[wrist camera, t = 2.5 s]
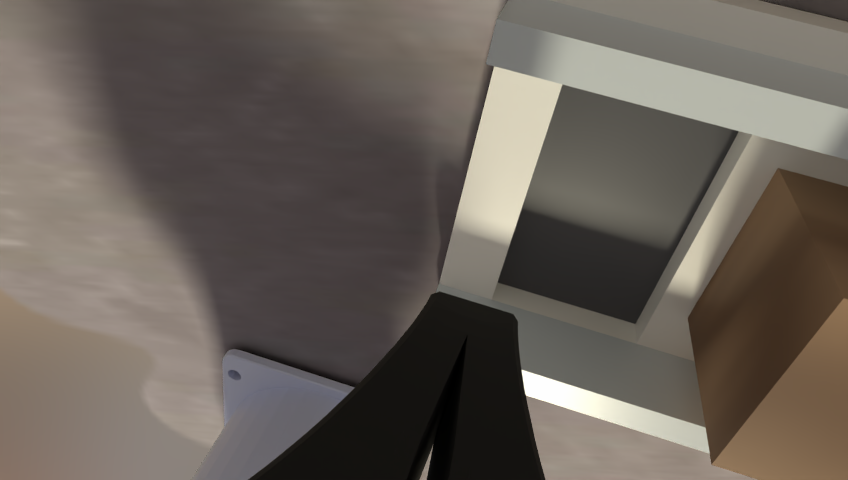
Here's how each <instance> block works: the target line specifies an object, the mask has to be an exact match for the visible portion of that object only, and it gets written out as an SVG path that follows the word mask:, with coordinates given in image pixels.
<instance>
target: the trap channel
mask: <svg viewBox="0 0 848 480" xmlns="http://www.w3.org/2000/svg"><path fill="white" fill-rule="evenodd" d="M486 64H487V65H491V66H494V69H493V73H492V77H491V81H490V85H489V89H488V93H487V97H486V101H485V104H484V108H483V112H482V116H481V120H480V124H479V128H478V132H477V136H476V140H475V144H474V148H473V152H472V156H471V160H470V164H469V168H468V172H467V176H466V179H465V183H464V187H463V191H462V195H461V199H460V203H459V207H458V211H457V215H456V219H455V223H454V227H453V231H452V235H451V239H450V243H449V247H448V250H447V254H446V258H445V262H444V266H443V270H442V274H441V278H440V282H439V285H438V288H437V291H436V293H437V292H439V291H440V292H443V293H447V294H450V295H453V296H457V297H460V298H463V299H466V300H470V301H473V302H476V303H479V304H483V305H486V306H489V307H492V308H496V309H499V310H502V311H506V312H509V313H512V314H514V316H515V317H516V319H517V321H518V342H519V353H520V362H521V369H522V376H523V383H524V389H525V394H526V395H527V396H530V397H533V398H536V399H540V400H543V401H546V402H549V403H552V404H555V405H558V406H562V407H565V408H568V409H571V410H574V411H577V412H580V413H584V414H587V415H590V416H593V417H596V418H599V419H602V420H606V421H609V422H612V423H615V424H618V425H621V426H624V427H627V428H631V429H634V430H637V431H640V432H643V433H646V434H649V435H653V436H656V437H659V438H662V439H665V440H668V441H671V442H675V443H678V444H681V445H684V446H687V447H690V448H693V449H697V450H700V451H703V452H706V453H709V454H710V452H709V446H708V440H707V434H706V427H705V421H704V415H703V409H702V403H701V397H700V391H699V385H698V379H697V372H696V366H695V360H694V354H693V348H692V342H691V336H690V330H689V324H688V316H689V315H690V313H691V311H692V310H693V308H694V306H695V305H696V303H697V301H698V300H699V298H700V296H701V295H702V293H703V291H704V290H705V288H706V286H707V285H708V283H709V281H710V280H711V278H712V277H713V275H714V273H715V272H716V270H717V268H718V267H719V265H720V263H721V262H722V260H723V258H724V257H725V255H726V253H727V252H728V250H729V248H730V247H731V245H732V243H733V242H734V240H735V238H736V237H737V235H738V233H739V232H740V230H741V228H742V227H743V225H744V223H745V222H746V220H747V219H748V217H749V215H750V214H751V212H752V210H753V209H754V207H755V205H756V204H757V202H758V200H759V199H760V197H761V195H762V194H763V192H764V190H765V189H766V187H767V185H768V184H769V182H770V180H771V179H772V177H773V175H774V174H775V172H776V170H777V169H778V168H780V169H784V170H788V171H791V172H795V173H799V174H803V175H806V176H810V177H814V178H817V179H821V180H825V181H829V182H832V183H836V184H840V185H843V186H847V187H848V22H846V21H842V20H838V19H834V18H830V17H826V16H822V15H818V14H813V13H809V12H805V11H801V10H797V9H793V8H789V7H785V6H781V5H776V4H772V3H768V2H764V1H760V0H508V1H507V3H506V4H505V6H504V8H503V9H502V11H501V13H500V15H499V16H498V18H497V21H496V25H495V29H494V33H493V37H492V41H491V45H490V49H489V53H488V58H487V62H486Z"/></svg>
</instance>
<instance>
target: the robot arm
mask: <svg viewBox="0 0 848 480" xmlns="http://www.w3.org/2000/svg"><path fill="white" fill-rule="evenodd" d="M222 368H223V400H224V429H223V430H222V432H221V434H220V435H219V437H218V438H217V440H216V441H215V443H214V444H213V446H212V448H211V449H210V451H209V452H208V454H207V455H206V457H205V459H204V460H203V462H202V463H201V465H200V466H199V468H198V469H197V471H196V473H195V474H194V476H193V477H192V479H191V480H419V479H420V477H421V474H422V471H423V469H424V466H425V464H426V461H427V459H428V456H429V454H430V451H431V449H432V446H433V450H432V455H431V460H430V466H429V471H428V476H427V480H545V477H544V473H543V469H542V466H541V462H540V458H539V454H538V450H537V446H536V442H535V438H534V433H533V428H532V424H531V419H530V414H529V410H528V405H527V400H526V394H525V389H524V383H523V376H522V369H521V362H520V353H519V342H518V321H517V319H516V317H515V316H514V314H512V313H509V312H506V311H502V310H499V309H496V308H492V307H489V306H486V305H483V304H479V303H476V302H473V301H470V300H466V299H463V298H460V297H457V296H453V295H450V294H447V293H443V292H440V291H439V292H437V293H434V294H432V295H431V296H430V298H429V300H428V302H427V303H426V305H425V306H424V308H423V309H422V311H421V312H420V314H419V315H418V317H417V318H416V319H415V321H414V322H413V323H412V325H411V326H410V327H409V329H408V330H407V331H406V332H405V333H404V335H403V336H402V337H401V338H400V340H399V341H398V342H397V343H396V344H395V346H394V347H393V348H392V349H391V350H390V351H389V352H388V353H387V354H386V355H385V357H384V358H383V359H382V360H381V361H380V362H379V363H378V364H377V365H376V366H375V368H374V369H373V370H372V371H371V372H370V373H369V374H368V375H367V376H366V377H365V378H364V379H363V380H362V381H361V382H360V383H359V384H358V385H357V386H356V387H352V386H349V385H346V384H342V383H339V382H336V381H333V380H330V379H327V378H324V377H321V376H318V375H315V374H312V373H309V372H306V371H303V370H300V369H296V368H293V367H290V366H287V365H284V364H281V363H278V362H275V361H272V360H269V359H266V358H263V357H260V356H257V355H254V354H251V353H247V352H244V351H241V350H237V349H232V350H229V351H228V352H227V353H226V354H225V356H224V357H223V360H222ZM433 444H434V445H433Z"/></svg>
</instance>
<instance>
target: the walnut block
mask: <svg viewBox="0 0 848 480" xmlns="http://www.w3.org/2000/svg"><path fill="white" fill-rule="evenodd" d="M688 324H689V330H690V336H691V342H692V348H693V354H694V360H695V366H696V372H697V379H698V385H699V391H700V397H701V403H702V409H703V415H704V421H705V427H706V434H707V440H708V446H709V452H710V458H711V464H712V465H714V466H717V467H721V468H724V469H727V470H730V471H733V472H736V473H739V474H742V475H746V476H749V477H752V478H755V479H758V480H848V187H847V186H843V185H840V184H836V183H832V182H829V181H825V180H821V179H817V178H814V177H810V176H806V175H803V174H799V173H795V172H791V171H788V170H784V169H780V168H778V169H777V170H776V172H775V174H774V175H773V177H772V179H771V180H770V182H769V184H768V185H767V187H766V189H765V190H764V192H763V194H762V195H761V197H760V199H759V200H758V202H757V204H756V205H755V207H754V209H753V210H752V212H751V214H750V215H749V217H748V219H747V220H746V222H745V223H744V225H743V227H742V228H741V230H740V232H739V233H738V235H737V237H736V238H735V240H734V242H733V243H732V245H731V247H730V248H729V250H728V252H727V253H726V255H725V257H724V258H723V260H722V262H721V263H720V265H719V267H718V268H717V270H716V272H715V273H714V275H713V277H712V278H711V280H710V281H709V283H708V285H707V286H706V288H705V290H704V291H703V293H702V295H701V296H700V298H699V300H698V301H697V303H696V305H695V306H694V308H693V310H692V311H691V313H690V315H689V316H688Z"/></svg>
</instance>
